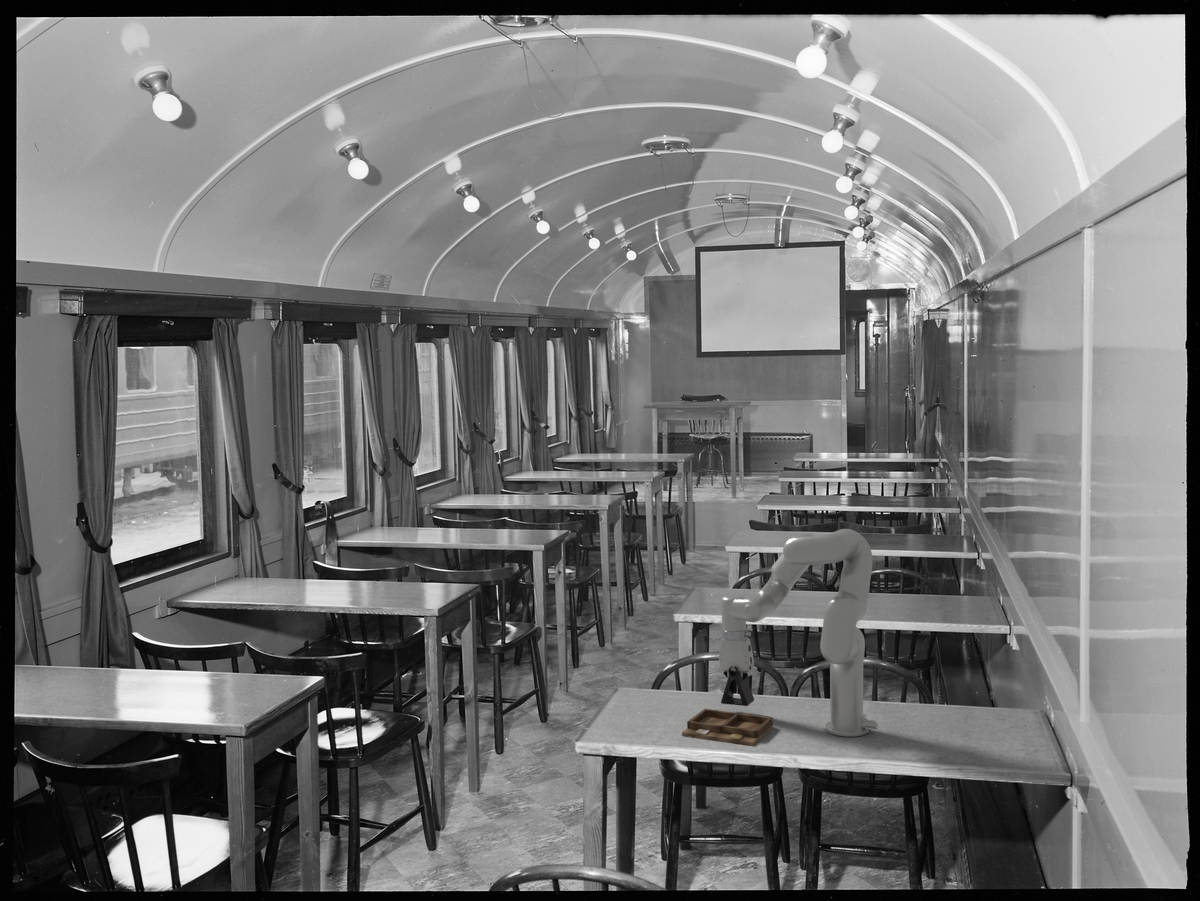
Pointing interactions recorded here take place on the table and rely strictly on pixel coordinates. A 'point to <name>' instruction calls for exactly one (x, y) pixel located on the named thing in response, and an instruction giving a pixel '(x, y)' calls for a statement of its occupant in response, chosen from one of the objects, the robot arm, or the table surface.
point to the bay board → (728, 726)
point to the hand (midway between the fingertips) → (737, 692)
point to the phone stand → (742, 687)
